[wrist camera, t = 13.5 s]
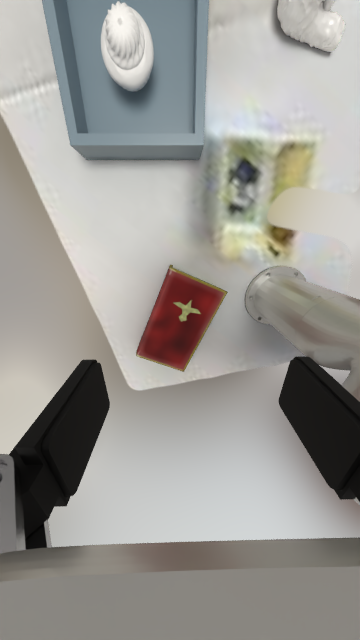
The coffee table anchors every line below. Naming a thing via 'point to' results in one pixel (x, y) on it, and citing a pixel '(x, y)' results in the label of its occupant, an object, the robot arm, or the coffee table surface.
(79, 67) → the bin
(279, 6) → the white creature statuette
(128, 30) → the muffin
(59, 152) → the coffee table surface
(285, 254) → the coffee table surface
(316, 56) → the coffee table surface
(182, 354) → the hardcover book
